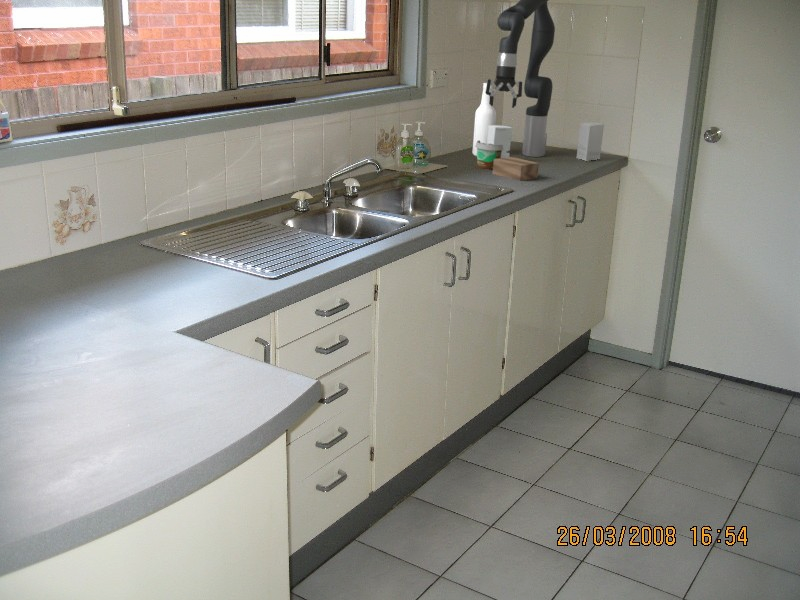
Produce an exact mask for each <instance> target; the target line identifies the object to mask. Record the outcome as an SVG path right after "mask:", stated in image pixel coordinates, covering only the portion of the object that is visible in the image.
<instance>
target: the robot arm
mask: <svg viewBox="0 0 800 600" xmlns="http://www.w3.org/2000/svg"><path fill="white" fill-rule="evenodd" d="M548 1H549V0H519V1H518V2H517V3H516V4H514V5H512V6H510V7H508V8H507V9H505V10H503V11H502V12H501V13H500V14H499V16H498V19H497V24H496V25H497V27H498V28H499V30H501V31H505V32H506V31H507V32H509V34H508V36H506V37H502V38H501V39H500V40H499V49H498V56H497V61H496V62H497V63H496V74H495V79H490V78H488V79H487V80H486V83H487V87H486V94H487V95H489V96H490V101H489V104H490V105H491V106H493V107H494V95H495V94H496V93H498V91H499V92H505V93H507V92H510V93H511V95H512V97H513V98H512V103H511V108H512V109H514V108H515V107H516V106H517V100H518V98H521V97H522V95H523V94H522V93H523V91H524V94H525V96H526V97H527V98H529V99H535V100H537V101H536V104H533V105H530V106H528V107H526V109H525V121H524V132H523V140H522V152H521V155H522V154H523V156H525V157H532V158H540V157H541V156H542V157H544V156H545V155H546V146H547V137H548V133H547V124H548V114H549V111H550V106H551V101H552V93H553V81H552V78H550V77H549V76H547V77H546V76H539V73H540V68H541V66H542V64H543V63H542V62H543V61H544V60H545V58H546V56H548V54H549V52H550V51H551V50H552V48H553V45H554V42H555V41H554V40H555V32H556V31H555V30H556V26H555V23H554V20H553V17H552V16H551V13H550V10H549V6H548ZM533 13H534V14H533ZM532 14H533V23H532V30H531V31H532V32H531V38H530V39H531V40H530V41H531V42H530V52H529V56H528V57H529V59H528V65H527V70H526V74H525V75H526V76H525V79H524V87H523V81H521V80H520V81H516V80H515V79H516V70H517V65H518V63H517V57H518V55H517V54H518V53H517V52H518V47H519V46H518V45H519V42H520V38H521V35H522V33H523V31H524V27H525V20H527V19H528V18H529V17H530V16H531V15H532ZM492 84H494V85H495V88H493V89H492V92H489V90H490V85H492ZM492 86H493V85H492ZM514 86H516V87H517V88H518V90H517V93H515V91H514Z"/></svg>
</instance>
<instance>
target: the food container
mask: <svg viewBox="0 0 800 600" xmlns="http://www.w3.org/2000/svg"><path fill="white" fill-rule="evenodd" d="M475 147H476V148H477V156H476V162H477V163H476V165H477V167H476V168H478V169H480V168H481V169H480V170H485V169H489V170H488V171H493V163H494V159H499V158H501V153H502V150H503V145H493V144H485V143H480V140H479V141H477V143H476V146H475Z"/></svg>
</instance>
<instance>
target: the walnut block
mask: <svg viewBox="0 0 800 600" xmlns="http://www.w3.org/2000/svg"><path fill="white" fill-rule="evenodd" d="M539 166H540V165H539V162H535V161H531V160H527V159H522V158H518V157H514V156H509V157H506V158H499V159H494V163H493V170H492V175H495V174H496V176H499V175H500V177H503V176H504V177H503V178H507V177H508V179H511V178H512V179H511V180H515V179H516V180H515V181H520V182H522V181H527V179H528V180H534V179H538V175H539Z"/></svg>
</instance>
